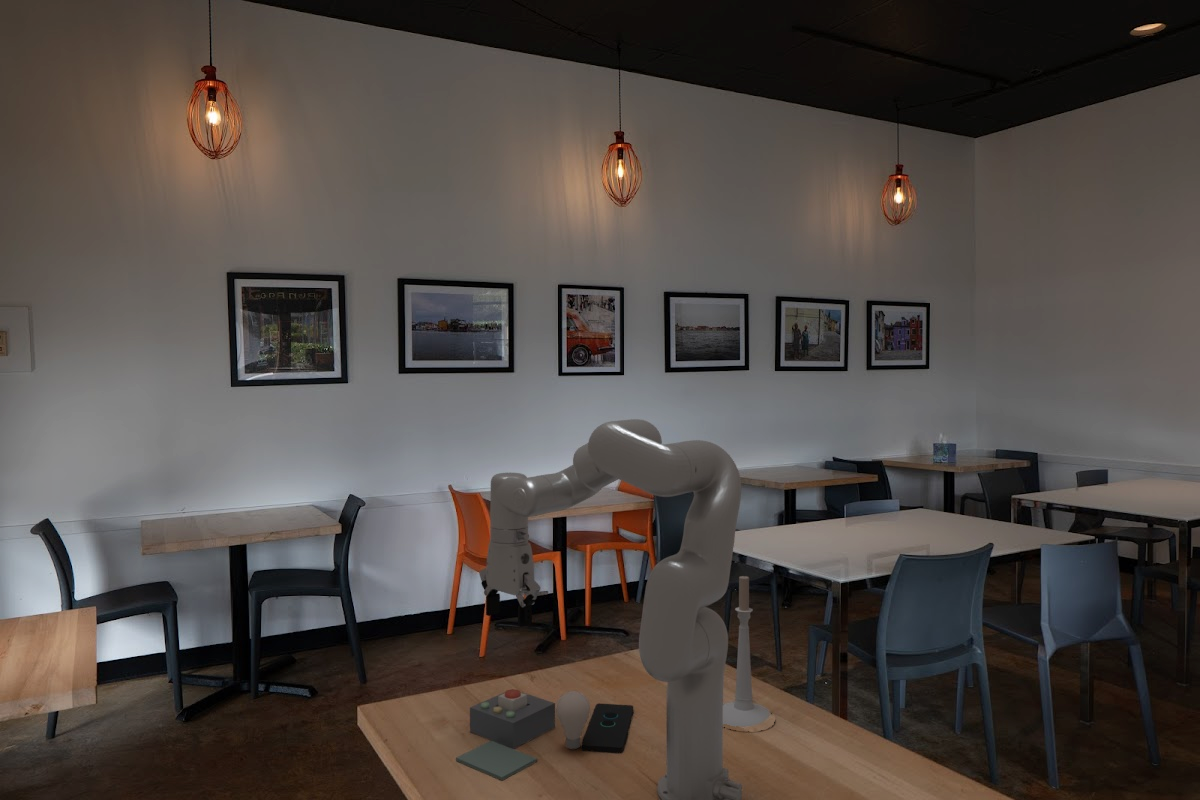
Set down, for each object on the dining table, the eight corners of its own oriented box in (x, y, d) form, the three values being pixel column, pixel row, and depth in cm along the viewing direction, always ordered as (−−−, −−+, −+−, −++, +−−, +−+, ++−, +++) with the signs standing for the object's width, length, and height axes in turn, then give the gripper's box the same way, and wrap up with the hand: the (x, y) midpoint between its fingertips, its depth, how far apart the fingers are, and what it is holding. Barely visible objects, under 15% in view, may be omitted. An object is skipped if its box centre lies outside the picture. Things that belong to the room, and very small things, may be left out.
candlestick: (699, 718, 172) (699, 574, 171) (739, 701, 181) (739, 564, 180) (748, 738, 163) (749, 586, 162) (788, 720, 171) (788, 575, 170)
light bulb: (586, 758, 155) (586, 700, 154) (552, 755, 156) (551, 697, 155) (593, 742, 161) (593, 686, 161) (560, 739, 162) (560, 684, 162)
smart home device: (634, 704, 176) (623, 747, 156) (634, 712, 176) (623, 756, 157) (595, 702, 177) (579, 744, 158) (595, 710, 178) (579, 753, 158)
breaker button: (526, 709, 167) (526, 691, 167) (512, 716, 164) (512, 698, 164) (512, 704, 170) (512, 687, 169) (498, 710, 166) (498, 693, 166)
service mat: (536, 761, 153) (536, 758, 153) (502, 780, 146) (502, 777, 146) (491, 743, 161) (491, 740, 161) (456, 760, 154) (456, 757, 154)
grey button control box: (555, 727, 168) (555, 699, 168) (513, 748, 158) (513, 718, 158) (512, 712, 175) (512, 685, 175) (470, 732, 166) (469, 703, 166)
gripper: (552, 539, 163) (551, 625, 164) (495, 526, 175) (495, 606, 176) (524, 545, 157) (523, 634, 158) (467, 531, 169) (466, 614, 170)
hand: (508, 619), depth 167 cm, fingers open, 9 cm apart
